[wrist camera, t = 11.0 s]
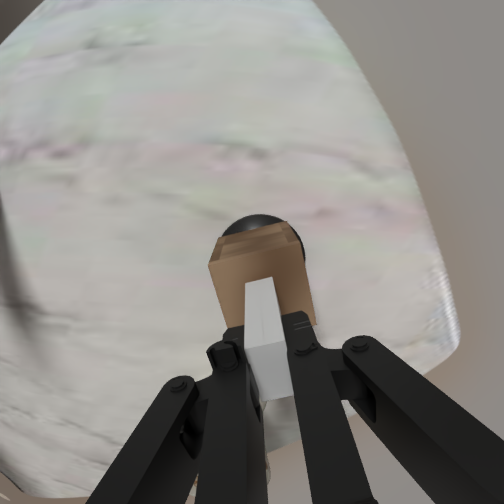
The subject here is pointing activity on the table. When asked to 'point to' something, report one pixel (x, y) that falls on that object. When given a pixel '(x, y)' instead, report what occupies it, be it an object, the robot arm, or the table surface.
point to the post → (257, 225)
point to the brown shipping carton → (260, 270)
